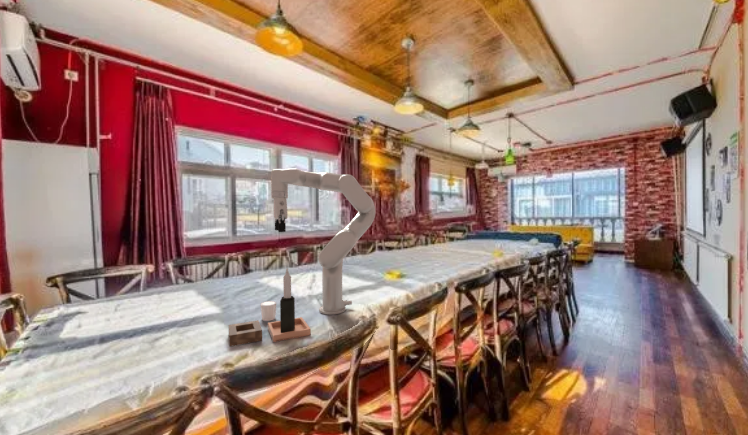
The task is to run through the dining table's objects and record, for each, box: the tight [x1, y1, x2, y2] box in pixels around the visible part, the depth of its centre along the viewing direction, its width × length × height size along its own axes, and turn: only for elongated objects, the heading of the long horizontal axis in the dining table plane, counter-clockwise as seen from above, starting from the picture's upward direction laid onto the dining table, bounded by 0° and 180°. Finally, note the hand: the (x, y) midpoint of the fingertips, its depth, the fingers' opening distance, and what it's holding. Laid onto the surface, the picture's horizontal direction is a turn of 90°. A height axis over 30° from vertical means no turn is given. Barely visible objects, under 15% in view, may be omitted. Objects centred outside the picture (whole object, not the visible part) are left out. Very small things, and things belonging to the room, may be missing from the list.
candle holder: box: [228, 319, 263, 347], centre depth 117 cm, size 11×11×4 cm
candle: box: [279, 268, 296, 333], centre depth 123 cm, size 5×5×25 cm
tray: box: [267, 316, 312, 343], centre depth 123 cm, size 14×14×2 cm
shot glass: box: [260, 300, 277, 322], centre depth 138 cm, size 7×7×7 cm
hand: (280, 231), depth 147 cm, fingers open, 9 cm apart
